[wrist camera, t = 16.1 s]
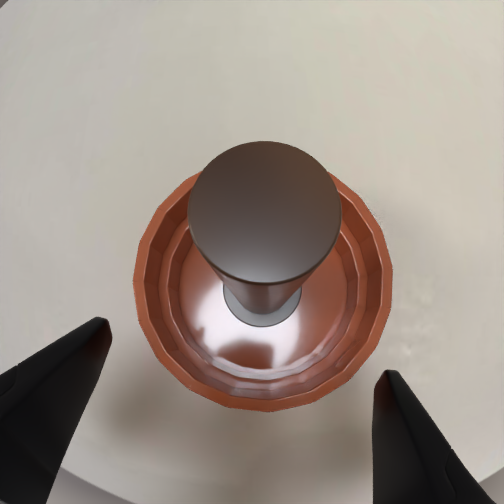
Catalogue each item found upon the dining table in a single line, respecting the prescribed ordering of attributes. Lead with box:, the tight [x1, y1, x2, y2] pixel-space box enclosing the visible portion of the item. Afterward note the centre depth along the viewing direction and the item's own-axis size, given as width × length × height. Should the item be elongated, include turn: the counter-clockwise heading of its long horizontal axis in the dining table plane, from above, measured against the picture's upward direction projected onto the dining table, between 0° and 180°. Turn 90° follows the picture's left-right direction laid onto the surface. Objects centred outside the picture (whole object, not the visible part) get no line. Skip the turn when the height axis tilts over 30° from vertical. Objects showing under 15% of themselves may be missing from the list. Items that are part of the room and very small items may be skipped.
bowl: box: [133, 171, 393, 412], centre depth 17 cm, size 12×12×5 cm
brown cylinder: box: [187, 141, 342, 327], centre depth 12 cm, size 4×4×13 cm
